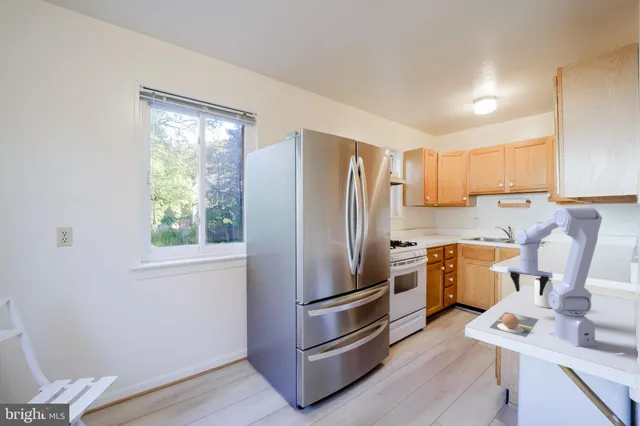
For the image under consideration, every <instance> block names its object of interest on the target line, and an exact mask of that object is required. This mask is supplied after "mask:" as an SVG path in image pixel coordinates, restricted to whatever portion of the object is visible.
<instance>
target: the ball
mask: <svg viewBox="0 0 640 426" xmlns="http://www.w3.org/2000/svg"><path fill="white" fill-rule="evenodd" d="M513 314H514V313H512V314H505V315H503V314H502V315H503V317H502V322H503V324H504V325H505V326H506V327H508V328H515V327H517V326H518V323H519V322H518V319H517V317H516V316H515V315H513Z"/></svg>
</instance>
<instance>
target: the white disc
mask: <svg viewBox="0 0 640 426" xmlns="http://www.w3.org/2000/svg"><path fill="white" fill-rule="evenodd" d="M497 327H498V328H499V329H501V330H504V331H507V332H506V333H508V332H512V333H522V332H524V329H523V328H521V327H519V326H517V327H515V328H508V327H506V326H505V325H504V324H503V323H500V324H498V325H497ZM504 331H503V332H504ZM512 333H511V334H512Z"/></svg>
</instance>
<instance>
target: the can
mask: <svg viewBox="0 0 640 426" xmlns="http://www.w3.org/2000/svg"><path fill="white" fill-rule="evenodd" d="M539 278H540V277H536V278H534V279H535V280H534V283H533V286H534V287H533V288H534V289H533V293H534V294H533V295H534V297H533V298H534V301H533V303H534V305H535V306H536V307H538V308H540V309H541V308H542V309H552V308H551V306H550V305H549V302H548V296H549V294H550V293H551V292H552V289H553V287H554V286H553V285H554V284H553V282H552V280H551V278H549V280H548V281H547V283H546V285H545V287H544V290H543V295H542V296H540V281H539Z"/></svg>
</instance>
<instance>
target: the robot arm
mask: <svg viewBox="0 0 640 426" xmlns="http://www.w3.org/2000/svg"><path fill="white" fill-rule="evenodd" d="M602 219H603V217H602V215H601V214H600V212H599V210H597V208H595V207H593V206H592V207H591V206H589V207H559V208H557V209H556V210H554V211H553V214H552V216H550V217H549V218H547V219H546V220H545V221H544V222H543V221H536V222H535V223H534V224H533V225H531V226H529V227H527V228H526V230H525V229H524V230H523V229H520V230H518V231H517V233H516V240H517V243H518V244H519V251H520V252H519V256H520V257H519V261H520V266H519V268H518V267H517V268H516V267H508V268H507V274H510V275H509V277H510V278H511V281H512V283H513V284H514V287H515V291H516V292H518V293H519V292H520V289H521V288H520V287H521V286H520V275H524V276H532V277H537V278H539V281H540V296H542V295H543V290H544V287H545V285H546V283H547V281H548V280H549V279H550V280H551V279H553V278H554V277H553V272H550V271H549V272H548V271H541V270H539V262H538V261H539V257H538V256H539V255H538V254H539V252H538V251H539V249H540V244H541V242H542V240H543V239H545V238H546V237H548V236H551V234H552V231H553V230H555V229H557V228H560V230H561V231H562V232H563V233H564V235H566V236H568V237H570V238H571V239H572V240H571V241H572V242H571V245H570V248H569V253H568V257H567V260H566V265H565V269H564V272H563V277H562V280H561V282H560V283H558V284H556V285H555V286H553V289H552V292H551V293H550V294H549V296H548V302H549V305H550V306H551V308H550V309H552V310H553V311H554V316H555V317H554V319H555V320H554V322H555V323H554V327H555V328H554V329H555V330H554V331H555V332H554V331H553V332H548V335H550V336H552V337H554V338H557V339H558V340H560V341H562V342H565V343H567V344H569V345H571V346H573V347H589V346H591V347H592V346H598V343H596V328H595V324H594V322H593V321H592V320H591V319H589V318H588V317H586V316H587V315H588V314H587V312H589V311H590V310H591V309H592V300H591V299H592V296H593V295H592V293H591V292H590V291H589V290H588V289H587V288H585V286H586V285H585V284H586V282H587V279H588V275H589V271H590V268H591V264H592V260H593V256H594V254H595V253H594V252H595V250H596V246H597V242H598V239H599V238H598V237H599V236H598V235H599V232H600V227H601V223H602V221H603V220H602Z"/></svg>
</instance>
